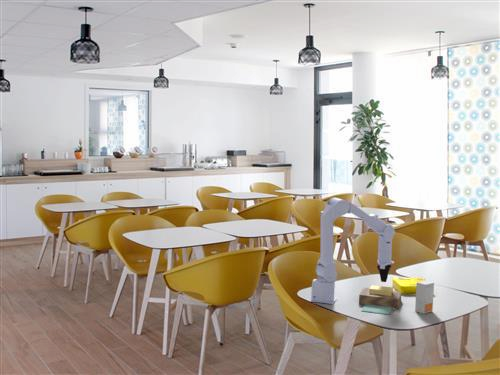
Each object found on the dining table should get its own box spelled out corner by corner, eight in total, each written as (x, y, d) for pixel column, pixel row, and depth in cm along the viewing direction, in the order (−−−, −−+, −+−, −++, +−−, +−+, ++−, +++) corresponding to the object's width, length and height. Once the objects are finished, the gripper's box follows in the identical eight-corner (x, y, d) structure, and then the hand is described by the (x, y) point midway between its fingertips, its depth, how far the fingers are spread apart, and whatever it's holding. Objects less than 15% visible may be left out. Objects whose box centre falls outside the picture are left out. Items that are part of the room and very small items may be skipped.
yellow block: (369, 293, 233) (369, 288, 233) (371, 289, 239) (371, 285, 239) (391, 295, 230) (391, 291, 230) (392, 292, 236) (392, 287, 235)
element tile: (400, 295, 246) (401, 284, 246) (391, 286, 261) (391, 276, 261) (434, 295, 247) (434, 285, 247) (422, 286, 262) (422, 276, 261)
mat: (361, 311, 222) (361, 310, 222) (364, 304, 230) (364, 304, 230) (389, 314, 218) (389, 313, 218) (391, 308, 226) (392, 307, 226)
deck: (358, 304, 231) (359, 294, 231) (363, 296, 242) (363, 287, 242) (398, 308, 225) (398, 299, 225) (401, 300, 237) (401, 291, 236)
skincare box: (423, 314, 219) (425, 284, 218) (414, 311, 223) (416, 282, 222) (433, 311, 223) (434, 282, 222) (424, 308, 226) (425, 280, 225)
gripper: (392, 255, 232) (391, 286, 233) (396, 248, 246) (394, 278, 247) (375, 253, 235) (374, 284, 236) (379, 247, 248) (378, 276, 249)
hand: (383, 281), depth 242 cm, fingers closed
